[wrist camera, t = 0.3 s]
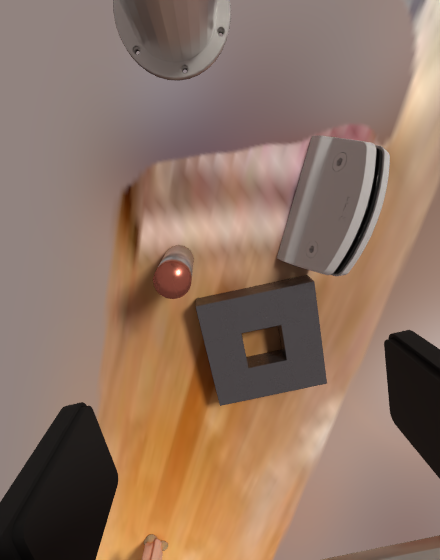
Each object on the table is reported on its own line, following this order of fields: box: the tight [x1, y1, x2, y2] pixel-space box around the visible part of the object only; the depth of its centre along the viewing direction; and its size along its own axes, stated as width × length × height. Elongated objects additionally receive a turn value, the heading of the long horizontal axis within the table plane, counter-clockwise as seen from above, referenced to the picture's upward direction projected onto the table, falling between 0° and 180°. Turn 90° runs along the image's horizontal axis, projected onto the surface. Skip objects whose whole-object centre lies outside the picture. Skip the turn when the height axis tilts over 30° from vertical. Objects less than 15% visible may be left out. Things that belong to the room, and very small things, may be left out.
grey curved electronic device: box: [277, 136, 390, 276], centre depth 39 cm, size 17×5×10 cm, turn 167°
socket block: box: [196, 275, 327, 406], centre depth 46 cm, size 16×16×3 cm
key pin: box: [153, 245, 194, 299], centre depth 39 cm, size 4×4×10 cm
